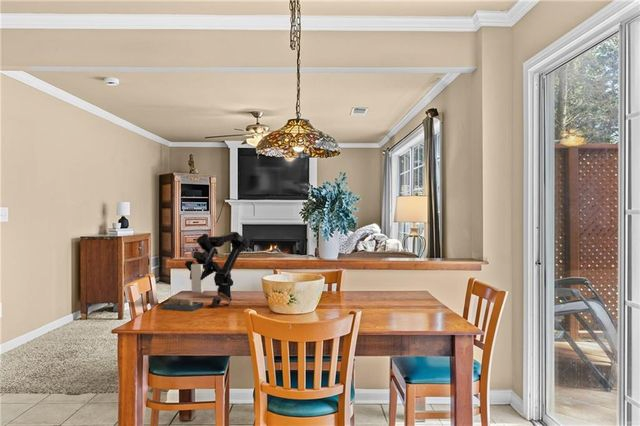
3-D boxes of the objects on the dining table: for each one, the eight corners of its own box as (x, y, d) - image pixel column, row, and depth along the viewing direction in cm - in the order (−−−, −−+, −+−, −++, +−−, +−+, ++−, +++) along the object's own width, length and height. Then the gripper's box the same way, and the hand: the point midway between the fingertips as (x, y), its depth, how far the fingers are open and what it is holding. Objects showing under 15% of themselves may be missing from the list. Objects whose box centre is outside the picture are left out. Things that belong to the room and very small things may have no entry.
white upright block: (193, 291, 242) (193, 264, 242) (203, 291, 240) (202, 264, 240) (191, 291, 241) (191, 264, 241) (201, 292, 239) (200, 264, 238)
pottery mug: (213, 306, 240) (221, 291, 241) (228, 315, 238) (236, 300, 239) (204, 304, 229) (212, 289, 230) (219, 314, 226) (228, 298, 227)
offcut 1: (172, 307, 231) (171, 297, 231) (181, 308, 229) (181, 298, 229) (169, 308, 229) (169, 298, 229) (178, 309, 227) (178, 298, 227)
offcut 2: (182, 308, 229) (182, 298, 229) (192, 309, 227) (192, 298, 227) (179, 309, 227) (179, 299, 227) (189, 310, 225) (189, 299, 225)
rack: (175, 306, 238) (175, 299, 238) (204, 308, 231) (204, 302, 231) (161, 310, 228) (161, 303, 228) (191, 313, 222) (191, 306, 222)
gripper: (186, 245, 247) (173, 269, 237) (216, 246, 240) (203, 270, 230) (196, 258, 255) (183, 282, 245) (225, 259, 248) (213, 283, 238)
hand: (195, 279), depth 239 cm, fingers closed on white upright block, 6 cm apart
